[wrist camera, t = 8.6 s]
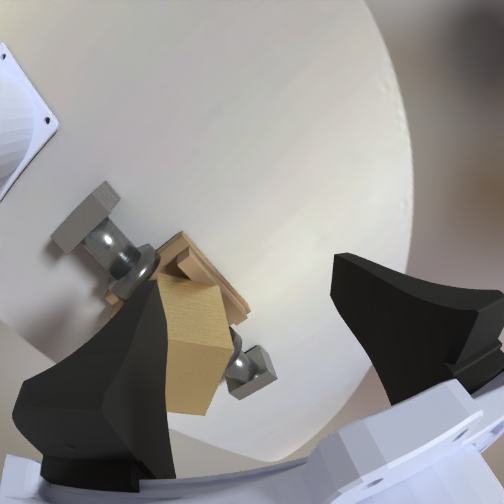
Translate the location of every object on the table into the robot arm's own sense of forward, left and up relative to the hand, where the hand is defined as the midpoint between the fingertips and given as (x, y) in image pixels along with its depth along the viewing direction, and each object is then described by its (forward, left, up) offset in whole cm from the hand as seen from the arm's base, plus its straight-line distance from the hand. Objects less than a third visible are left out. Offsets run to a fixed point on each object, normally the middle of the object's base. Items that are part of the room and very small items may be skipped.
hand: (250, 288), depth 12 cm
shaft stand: (+3, -7, -9) cm, 12 cm away
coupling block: (+3, -6, -7) cm, 10 cm away
